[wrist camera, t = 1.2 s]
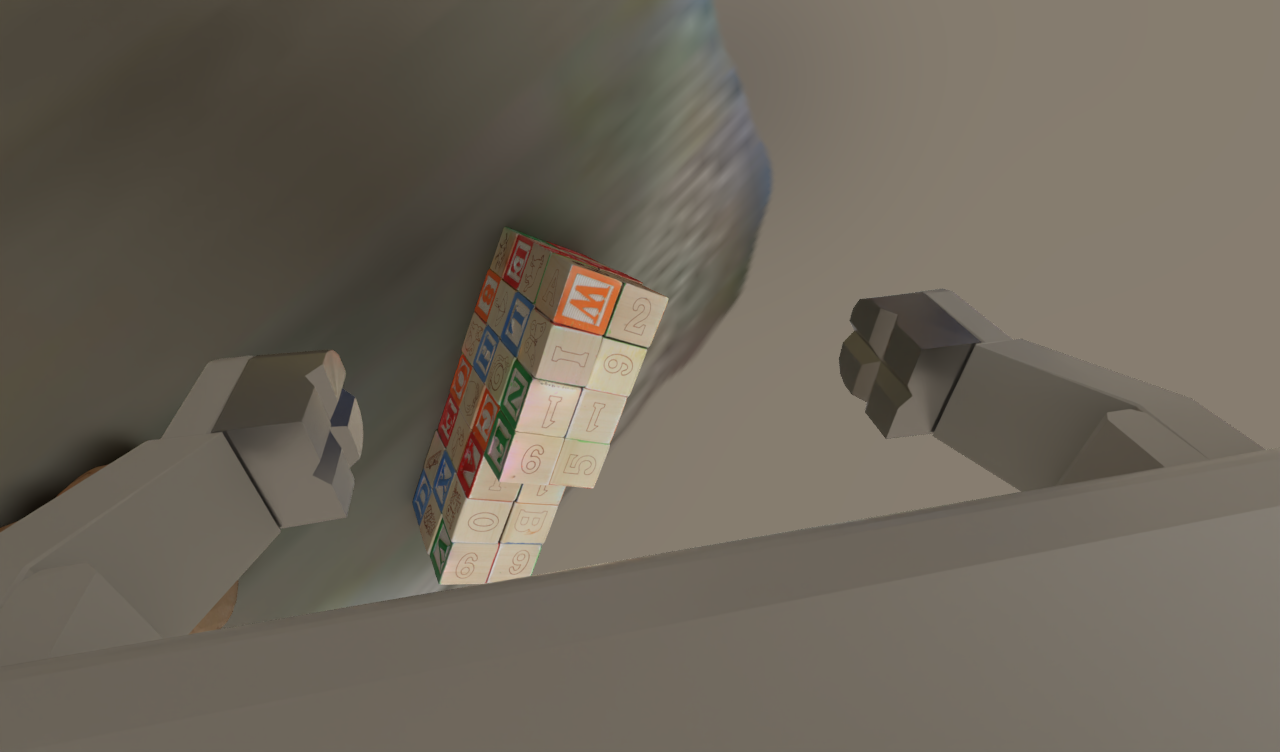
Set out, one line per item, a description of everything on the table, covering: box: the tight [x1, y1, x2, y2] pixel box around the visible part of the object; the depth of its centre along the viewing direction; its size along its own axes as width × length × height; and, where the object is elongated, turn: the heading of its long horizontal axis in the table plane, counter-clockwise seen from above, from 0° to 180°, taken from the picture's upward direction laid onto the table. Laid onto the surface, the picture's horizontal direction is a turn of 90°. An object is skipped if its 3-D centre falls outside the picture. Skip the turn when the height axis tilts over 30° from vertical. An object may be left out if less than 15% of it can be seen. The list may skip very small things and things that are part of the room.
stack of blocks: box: [413, 227, 668, 584], centre depth 37 cm, size 21×6×12 cm, turn 155°
